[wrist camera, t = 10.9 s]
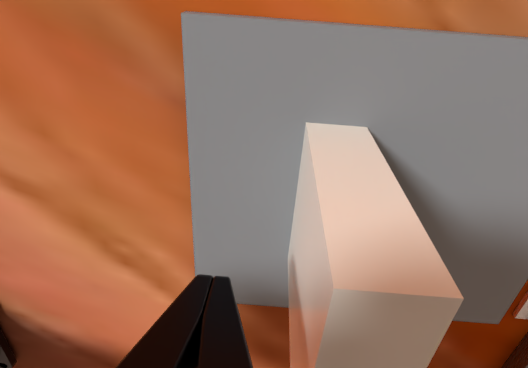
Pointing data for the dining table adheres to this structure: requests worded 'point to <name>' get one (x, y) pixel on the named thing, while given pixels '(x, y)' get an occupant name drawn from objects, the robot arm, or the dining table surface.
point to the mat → (382, 130)
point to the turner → (524, 356)
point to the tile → (361, 262)
